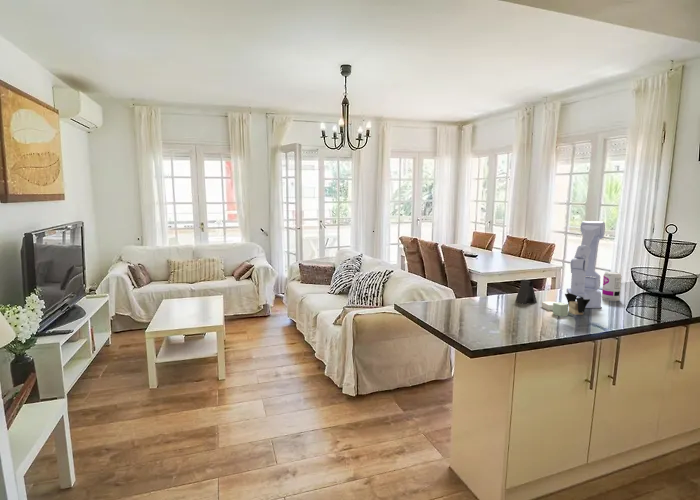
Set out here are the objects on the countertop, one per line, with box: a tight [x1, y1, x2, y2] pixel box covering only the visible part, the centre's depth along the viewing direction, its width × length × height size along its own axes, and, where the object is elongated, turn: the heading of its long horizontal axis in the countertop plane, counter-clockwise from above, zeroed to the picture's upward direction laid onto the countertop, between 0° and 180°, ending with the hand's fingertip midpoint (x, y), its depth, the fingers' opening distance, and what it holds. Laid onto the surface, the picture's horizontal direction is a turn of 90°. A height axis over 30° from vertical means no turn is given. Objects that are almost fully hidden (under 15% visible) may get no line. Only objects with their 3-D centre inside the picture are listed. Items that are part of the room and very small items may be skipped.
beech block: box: [568, 300, 584, 316], centre depth 190 cm, size 4×4×6 cm
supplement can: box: [601, 271, 622, 302], centre depth 215 cm, size 8×8×15 cm
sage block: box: [552, 301, 569, 317], centre depth 187 cm, size 4×4×6 cm
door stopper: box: [514, 279, 538, 305], centre depth 211 cm, size 9×6×12 cm, turn 108°
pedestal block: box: [541, 301, 558, 311], centre depth 199 cm, size 7×7×3 cm
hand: (576, 310), depth 190 cm, fingers open, 7 cm apart
